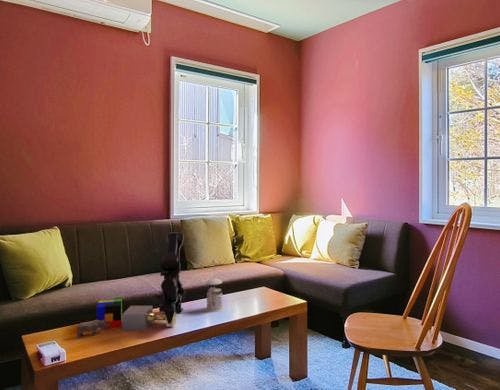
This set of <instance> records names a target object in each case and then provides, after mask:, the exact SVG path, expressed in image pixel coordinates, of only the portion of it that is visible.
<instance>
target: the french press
mask: <svg viewBox="0 0 500 390" xmlns="http://www.w3.org/2000/svg"><path fill="white" fill-rule="evenodd" d="M212 263H213V273H214V275H213V277H214V278H211V279H207V281H206V284H207V285H209V286H210V285H211V287H210V288H208V289H207V292H206V307H205V308H204V311H206V312H208V313H219V312H222V311H223V312H224V310H225V307H224V306H223V292H222V291H223V290H222V288H219V287H218V288H217V287H215V286H216V285H221V284H223V281H222V280H221V279H219V278H216V276H215V275H216V274H215V273H216V272H215V271H216V270H215V269H216V268H215V266H216V265H215V264H216V263H217V260H216V259H213V260H212ZM212 286H214V287H212Z"/></svg>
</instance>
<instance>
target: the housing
mask: <svg viewBox="0 0 500 390" xmlns="http://www.w3.org/2000/svg"><path fill="white" fill-rule="evenodd" d="M148 313H154V312H153V305H130V306H129V307H128V308H127V309H126V310H125V311H124V312H122V324H121V328H122V331H146V330H147V329H148V327H149V326H150V325H151V324H152V322H148Z"/></svg>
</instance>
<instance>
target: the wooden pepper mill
mask: <svg viewBox="0 0 500 390" xmlns="http://www.w3.org/2000/svg"><path fill="white" fill-rule="evenodd" d="M176 316H177V313H176V310H175V313H174V316H173V319H172V322H171V324H168V321H167V318H166V315H165V314H156V313H155V312H153V313H148V322H151V323H155V321H165V327H171V328H173V327H174V326H175V324H176V321H177V319H176Z"/></svg>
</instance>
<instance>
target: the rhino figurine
mask: <svg viewBox="0 0 500 390" xmlns="http://www.w3.org/2000/svg"><path fill="white" fill-rule="evenodd" d="M104 323H106V322H104V319H103V321H100V320H97V319H94V320H91V321H84V322H80V323H79V324H78V325H77V330H76V331H77V333H76V339H81V338H82V337H84V335H85V334H84V332H86V333H90V332H92V333H91V336H96V335H97V329H98V328H99V327H100V328H101V330H104V331H106V330H108V329H107V327H108V326H109V325H110V324H109V325H107V324H104Z"/></svg>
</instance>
